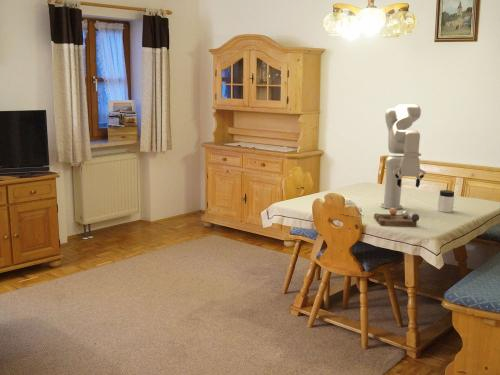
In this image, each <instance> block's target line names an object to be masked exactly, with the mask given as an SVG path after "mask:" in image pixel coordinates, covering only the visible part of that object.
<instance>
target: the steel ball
mask: <svg viewBox="0 0 500 375" xmlns="http://www.w3.org/2000/svg"><path fill="white" fill-rule="evenodd" d="M401 215H402V217H403V218H408V217H409V216H410V212H409V211H407V210H404V211H402V212H401Z"/></svg>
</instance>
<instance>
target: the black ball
mask: <svg viewBox="0 0 500 375" xmlns="http://www.w3.org/2000/svg"><path fill="white" fill-rule="evenodd" d="M411 217H412V220H413V221H416V222H418V221H419V220H420V216H419V214H417V213H413V214H412V215H411Z"/></svg>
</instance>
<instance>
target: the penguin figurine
mask: <svg viewBox="0 0 500 375" xmlns="http://www.w3.org/2000/svg"><path fill="white" fill-rule="evenodd" d="M344 199H345V202H346V205H353V206H356V207H358V208H359V210H360V212H361V213H362V212H363V208H362V207H361V206H359V205H357V204H356V202H354V201H353V200H352V199H351V198H348V197H345V198H344Z"/></svg>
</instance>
